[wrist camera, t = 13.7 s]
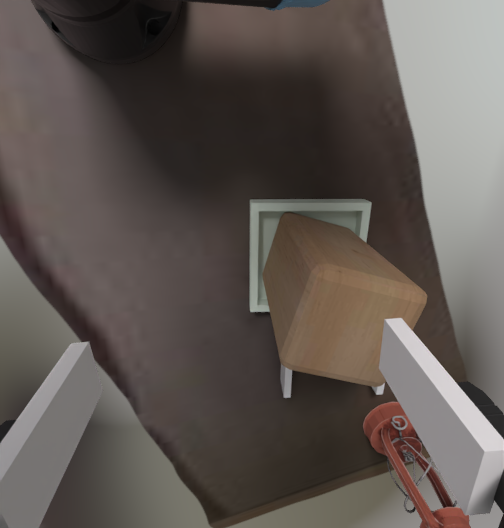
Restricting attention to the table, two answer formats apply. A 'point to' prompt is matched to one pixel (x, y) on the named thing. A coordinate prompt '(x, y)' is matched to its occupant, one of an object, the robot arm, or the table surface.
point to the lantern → (405, 450)
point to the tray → (328, 210)
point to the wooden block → (333, 300)
